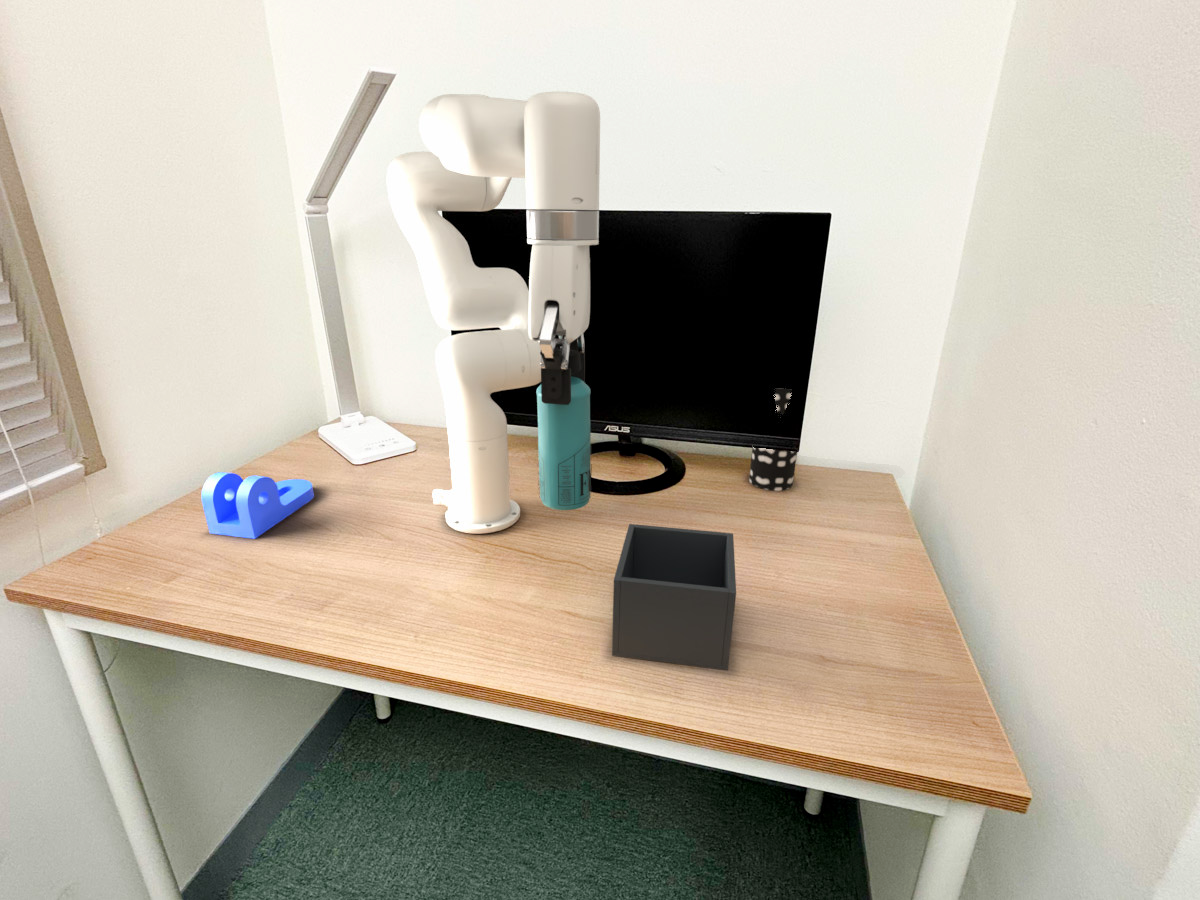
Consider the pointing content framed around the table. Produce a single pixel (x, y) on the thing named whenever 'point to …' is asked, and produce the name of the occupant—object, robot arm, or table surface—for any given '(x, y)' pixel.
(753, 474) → the white-spotted black cylinder
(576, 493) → the beverage bottle
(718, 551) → the open box
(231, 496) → the bracket
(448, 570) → the table surface
